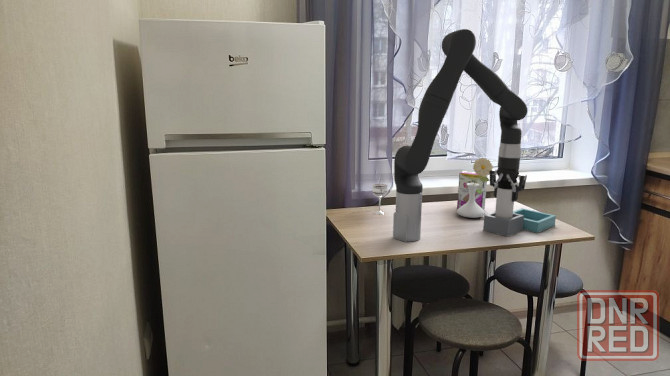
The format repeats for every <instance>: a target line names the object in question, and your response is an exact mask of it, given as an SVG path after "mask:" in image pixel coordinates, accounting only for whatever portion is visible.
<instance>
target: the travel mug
mask: <svg viewBox="0 0 670 376" xmlns="http://www.w3.org/2000/svg"><path fill="white" fill-rule="evenodd" d="M516 181H517V182H518V180H515V181H513V183H515V182H516ZM497 188H498V189H497V198H495V211H494V212H495V217H499V218H503V219H507V220H508V219H511V218H512V217H513V211H514V206H515V202H512V192H513V189H512V186H511V182H502V181H500V182H498V187H497Z"/></svg>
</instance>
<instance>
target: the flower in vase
mask: <svg viewBox="0 0 670 376" xmlns="http://www.w3.org/2000/svg"><path fill="white" fill-rule="evenodd" d="M472 169H473V172H475V173H476V174H478V175H479V177H480V175H481V177H480V178H479V177H478V179H480V180H481V181H482V182H487V183H488V182H490V178H489V177H488V176H490V170H494V166H493V165H492V162H491V160H490V159H487V158H484V157H481V158H478V159H476V160H474V164H473V166H472ZM486 175H487V177H486ZM468 178H469V179H471V180H474V181H475V179H473V178H470V177H469V176H468ZM478 179H477V180H478ZM477 180H476V181H477ZM476 181H475V183H467V186H468V188H469V200H468V202H467V203H466V204H464V205H462V206H461V207H460V208H457V210H456V213H457V214H458V215H460V216H461V217H464V218H470V219H476V218H477V219H479V218H482V217H484V215H486V212H485V209H484V210H483V209H482V208H481V207H480V206H479V205H478V204H477V203H476V202H475V192H476V189H477V187H478V186H479V184H477V183H476Z"/></svg>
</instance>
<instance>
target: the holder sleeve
mask: <svg viewBox="0 0 670 376" xmlns="http://www.w3.org/2000/svg"><path fill="white" fill-rule="evenodd" d="M523 222H524V215H520V214H516V213H513V217H512V218H511V219H508V220H507V219H503V218H499V217H495V211H492V212H489V213H485V215H484V216H483V229H482V230H483V231H484V232H489V233H492V234H495V235H496V234H497V235H498V236H499V235H500V236H504V237H510V236H513V235H515V234H517V233H520V232H522V231H523V230H524V229H523Z"/></svg>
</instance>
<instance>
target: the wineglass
mask: <svg viewBox="0 0 670 376" xmlns="http://www.w3.org/2000/svg"><path fill="white" fill-rule="evenodd" d="M371 186H372V189H371V192H372V194H373V196H375V197H376V198H378V210H376V211H374V212H373V214H375V215H384V213H385V214H386V212H385V211H382V210H381V200H382V198H384V197H385V196H386V195H388V193H389V188H388V187H389V186H388V184H385V183H374V184H372V185H371Z"/></svg>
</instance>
